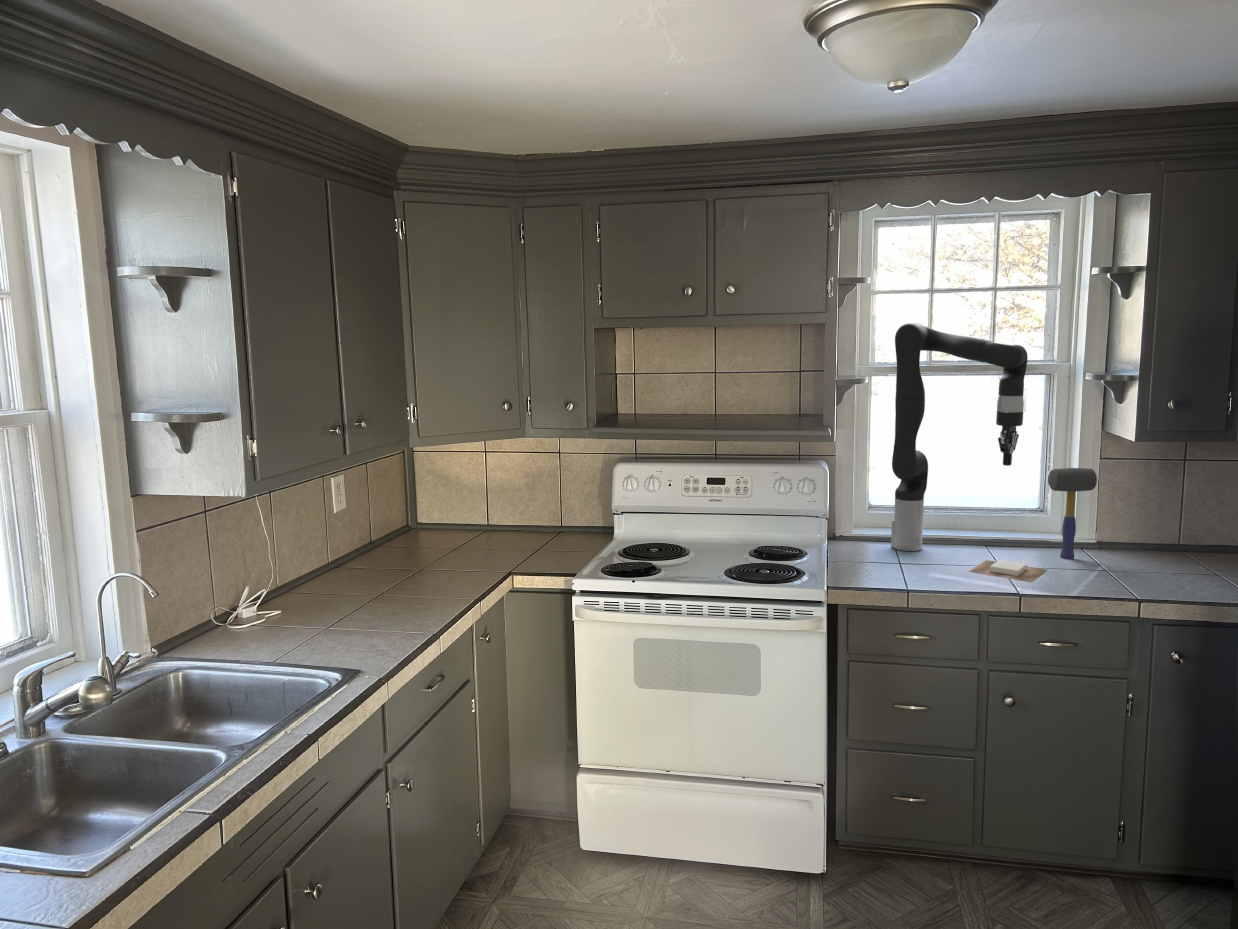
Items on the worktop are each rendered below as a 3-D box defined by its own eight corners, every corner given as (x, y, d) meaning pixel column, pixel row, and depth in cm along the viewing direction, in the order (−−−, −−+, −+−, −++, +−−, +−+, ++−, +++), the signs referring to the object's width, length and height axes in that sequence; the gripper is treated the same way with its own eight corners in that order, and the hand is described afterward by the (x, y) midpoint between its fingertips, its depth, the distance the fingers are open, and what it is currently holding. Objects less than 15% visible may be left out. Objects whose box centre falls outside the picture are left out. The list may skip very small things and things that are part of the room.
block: (999, 565, 263) (989, 571, 256) (999, 559, 263) (989, 566, 256) (1026, 569, 258) (1017, 576, 251) (1027, 564, 258) (1018, 570, 251)
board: (968, 575, 257) (968, 571, 257) (985, 563, 269) (986, 560, 269) (1032, 586, 245) (1032, 582, 245) (1047, 573, 257) (1047, 569, 257)
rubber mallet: (1052, 564, 267) (1058, 470, 262) (1041, 558, 274) (1047, 466, 269) (1092, 564, 266) (1099, 469, 261) (1081, 557, 274) (1087, 465, 269)
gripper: (1004, 407, 271) (1001, 461, 274) (990, 411, 261) (987, 467, 264) (1029, 408, 266) (1026, 463, 269) (1016, 412, 257) (1013, 469, 259)
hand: (1007, 465), depth 267 cm, fingers closed
